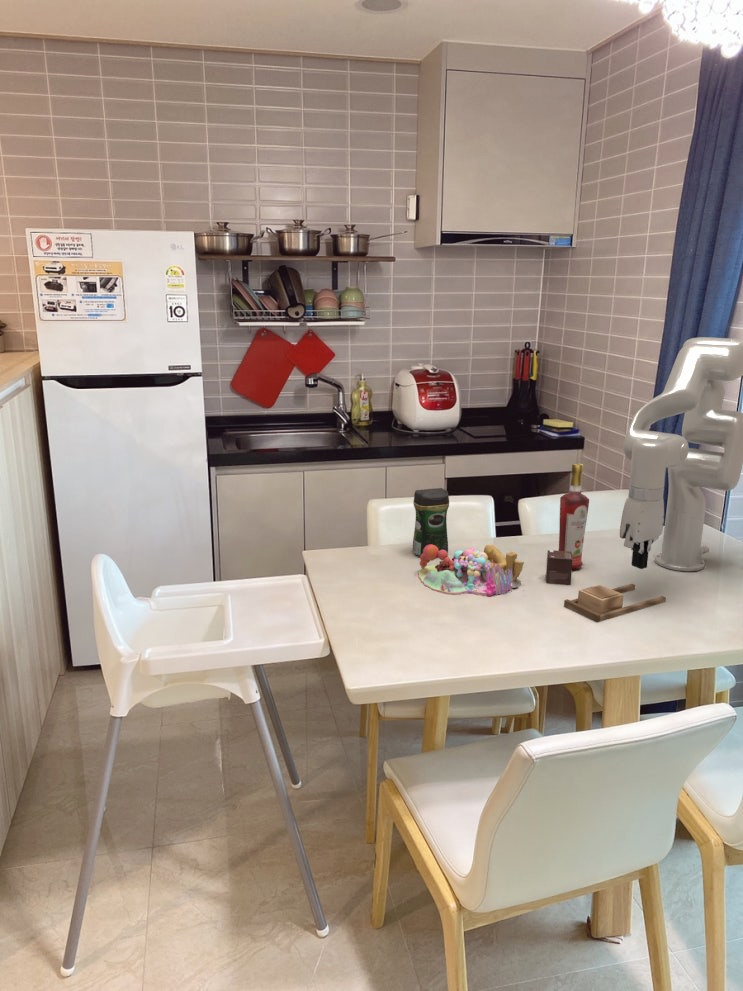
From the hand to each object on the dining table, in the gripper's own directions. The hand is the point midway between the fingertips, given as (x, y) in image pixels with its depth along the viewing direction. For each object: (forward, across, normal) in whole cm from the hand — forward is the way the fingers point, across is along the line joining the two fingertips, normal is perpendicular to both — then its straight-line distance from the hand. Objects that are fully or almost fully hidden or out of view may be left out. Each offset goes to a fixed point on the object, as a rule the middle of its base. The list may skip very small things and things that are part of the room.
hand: (639, 566), depth 181 cm
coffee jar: (+8, +24, -51) cm, 57 cm away
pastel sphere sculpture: (+8, +27, -30) cm, 41 cm away
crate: (+7, +13, 0) cm, 15 cm away
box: (+8, +8, -18) cm, 21 cm away
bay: (+8, +8, 0) cm, 11 cm away
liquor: (+9, -2, -24) cm, 25 cm away
